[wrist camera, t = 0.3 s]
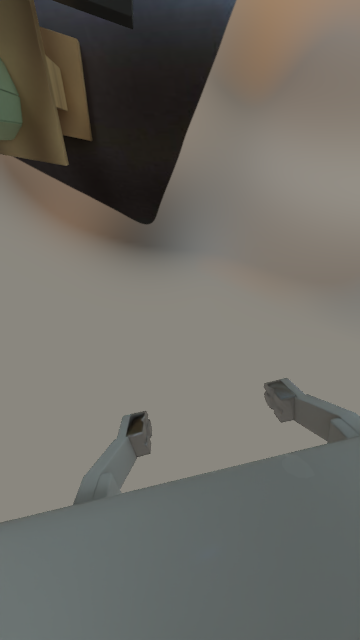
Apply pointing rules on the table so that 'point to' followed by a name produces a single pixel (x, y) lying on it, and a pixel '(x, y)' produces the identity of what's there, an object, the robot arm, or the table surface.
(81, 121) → the birch stand
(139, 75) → the table surface
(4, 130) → the green cup
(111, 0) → the black bar
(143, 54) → the table surface
